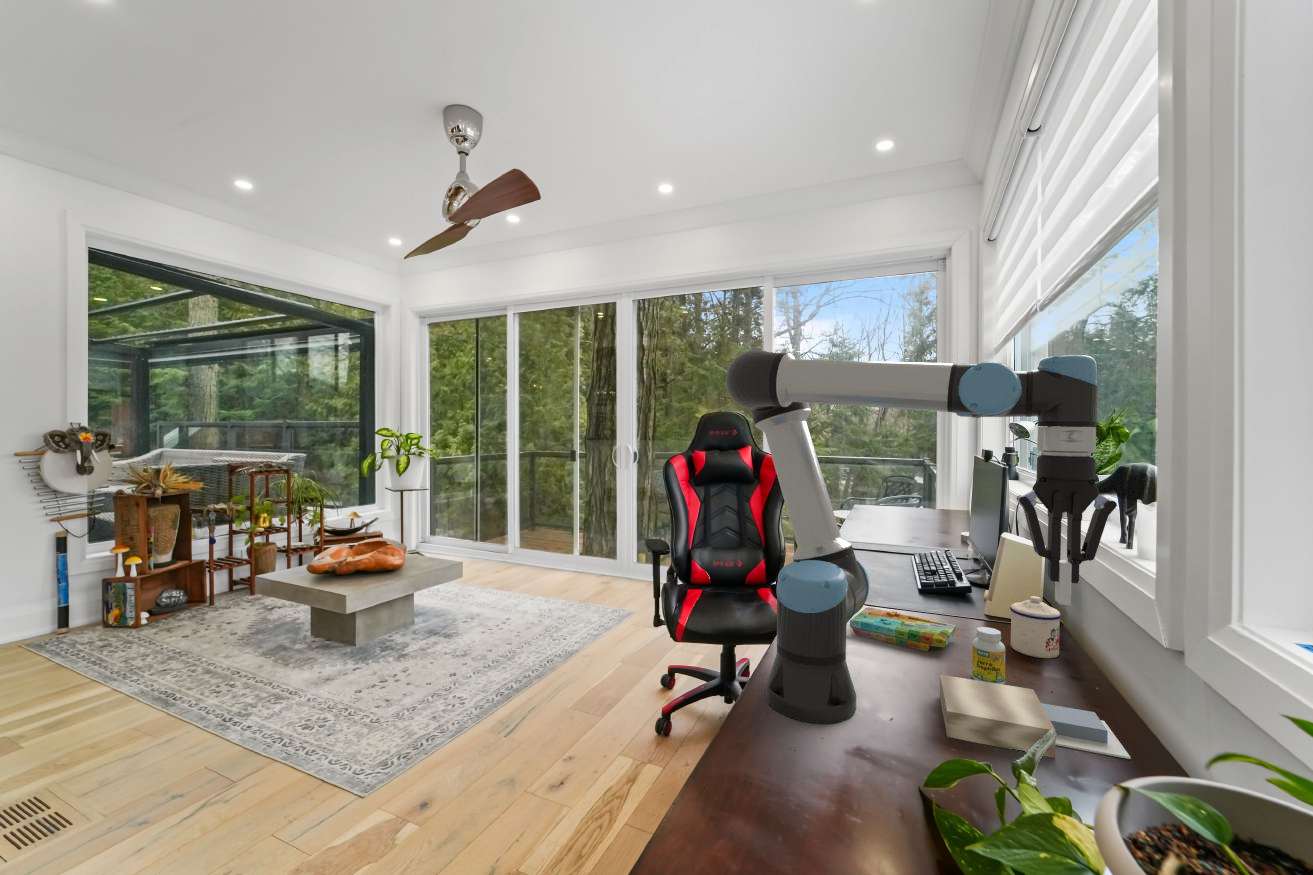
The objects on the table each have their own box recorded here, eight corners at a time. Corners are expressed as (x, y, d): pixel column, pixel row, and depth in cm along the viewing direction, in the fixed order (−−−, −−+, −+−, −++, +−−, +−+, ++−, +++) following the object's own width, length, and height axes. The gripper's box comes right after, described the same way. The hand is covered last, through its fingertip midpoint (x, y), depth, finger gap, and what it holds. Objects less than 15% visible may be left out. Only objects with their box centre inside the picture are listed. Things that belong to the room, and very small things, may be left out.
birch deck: (946, 736, 86) (947, 710, 86) (939, 696, 99) (940, 674, 99) (1055, 757, 81) (1055, 730, 81) (1032, 712, 94) (1033, 689, 94)
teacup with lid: (1056, 663, 114) (1057, 606, 114) (1004, 650, 120) (1005, 597, 120) (1065, 646, 122) (1066, 594, 122) (1017, 636, 129) (1018, 585, 129)
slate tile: (1044, 731, 87) (1044, 719, 87) (1035, 713, 93) (1035, 702, 93) (1107, 743, 84) (1107, 730, 84) (1094, 724, 90) (1094, 712, 90)
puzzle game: (865, 604, 138) (956, 621, 125) (865, 622, 138) (956, 642, 126) (849, 616, 128) (945, 636, 116) (849, 636, 129) (945, 659, 116)
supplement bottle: (1004, 678, 107) (1005, 628, 107) (1005, 689, 102) (1006, 637, 102) (972, 672, 109) (972, 623, 109) (971, 682, 105) (972, 632, 105)
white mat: (1050, 744, 84) (1050, 742, 84) (1033, 710, 94) (1033, 708, 94) (1130, 759, 81) (1130, 757, 81) (1104, 722, 91) (1104, 720, 91)
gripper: (1022, 454, 87) (1019, 603, 88) (1126, 456, 82) (1122, 615, 83) (1012, 452, 94) (1010, 590, 95) (1108, 454, 89) (1104, 600, 89)
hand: (1062, 602), depth 89 cm, fingers closed
